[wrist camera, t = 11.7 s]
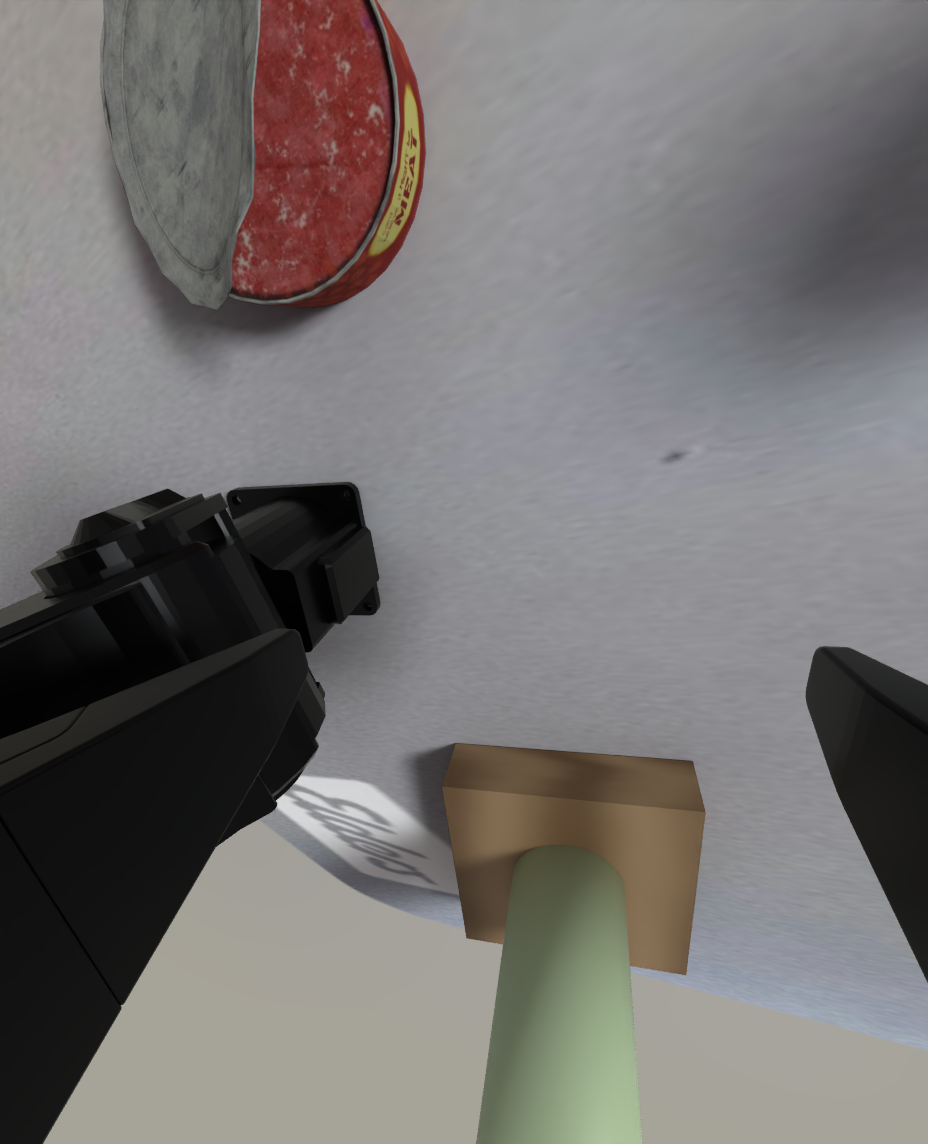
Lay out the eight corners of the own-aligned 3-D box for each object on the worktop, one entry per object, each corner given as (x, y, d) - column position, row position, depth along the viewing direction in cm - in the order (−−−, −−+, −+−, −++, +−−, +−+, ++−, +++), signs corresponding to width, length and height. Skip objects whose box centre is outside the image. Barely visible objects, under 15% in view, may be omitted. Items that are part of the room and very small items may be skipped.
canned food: (366, 319, 24) (201, 421, 19) (204, 102, 21) (-56, 146, 15) (543, 111, 16) (334, 185, 10) (314, -311, 12) (-187, -556, 7)
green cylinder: (516, 910, 28) (467, 1316, 16) (509, 838, 26) (447, 1250, 14) (623, 926, 27) (652, 1380, 15) (625, 852, 24) (662, 1319, 13)
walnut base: (476, 889, 33) (466, 938, 30) (455, 743, 28) (441, 786, 25) (677, 917, 30) (686, 975, 27) (692, 761, 25) (705, 812, 22)
